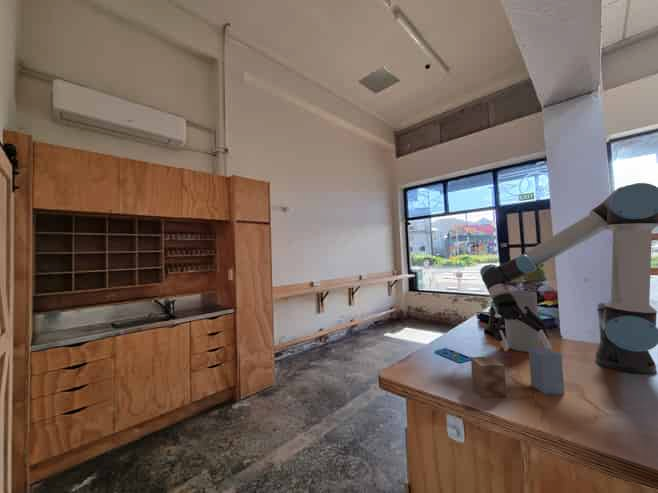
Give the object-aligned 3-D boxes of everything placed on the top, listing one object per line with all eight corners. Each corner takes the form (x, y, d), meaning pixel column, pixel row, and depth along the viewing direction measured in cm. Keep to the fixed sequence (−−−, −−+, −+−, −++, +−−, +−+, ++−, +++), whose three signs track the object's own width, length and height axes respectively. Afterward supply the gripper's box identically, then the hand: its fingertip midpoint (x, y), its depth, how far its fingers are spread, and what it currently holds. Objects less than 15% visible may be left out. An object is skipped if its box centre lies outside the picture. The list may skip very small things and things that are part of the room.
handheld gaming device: (446, 347, 126) (474, 357, 112) (446, 349, 126) (474, 360, 112) (432, 350, 123) (459, 361, 109) (432, 352, 123) (459, 364, 109)
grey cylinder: (500, 343, 129) (497, 291, 130) (527, 342, 128) (523, 290, 129) (518, 353, 116) (514, 295, 117) (548, 352, 116) (543, 293, 117)
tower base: (494, 387, 90) (493, 371, 90) (506, 398, 83) (505, 381, 83) (472, 387, 90) (471, 372, 91) (482, 398, 84) (481, 381, 84)
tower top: (493, 371, 90) (492, 356, 90) (505, 381, 83) (504, 365, 83) (471, 372, 91) (470, 357, 91) (481, 381, 84) (480, 365, 84)
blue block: (550, 384, 89) (547, 347, 90) (564, 393, 83) (561, 354, 84) (531, 384, 90) (528, 348, 90) (543, 393, 84) (540, 354, 84)
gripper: (532, 302, 110) (561, 353, 94) (467, 304, 112) (486, 354, 97) (540, 291, 104) (573, 343, 89) (472, 293, 107) (493, 344, 92)
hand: (528, 349), depth 93 cm, fingers open, 13 cm apart
